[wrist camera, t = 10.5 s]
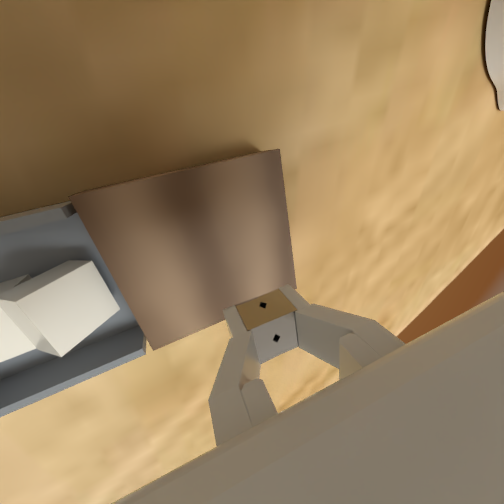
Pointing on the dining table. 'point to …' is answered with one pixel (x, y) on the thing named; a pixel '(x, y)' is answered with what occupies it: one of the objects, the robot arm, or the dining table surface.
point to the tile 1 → (12, 327)
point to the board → (193, 241)
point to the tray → (37, 262)
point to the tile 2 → (60, 306)
